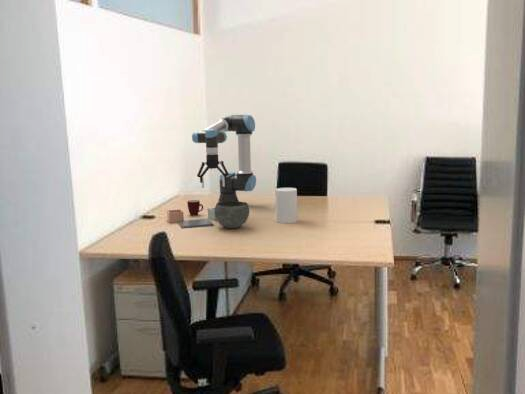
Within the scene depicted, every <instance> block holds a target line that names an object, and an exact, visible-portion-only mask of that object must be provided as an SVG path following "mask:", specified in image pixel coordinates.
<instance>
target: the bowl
mask: <svg viewBox="0 0 525 394" xmlns="http://www.w3.org/2000/svg"><path fill="white" fill-rule="evenodd" d="M249 207H250V206H249V204H248V203H247V202H245V201H222V202H218V201H217V203H216V204H215V207H214V208H215V217H216V219H217V221H216V222H217V223H219V225H221V226H222V227H224V228H226V229H236V228H239V227H241V226H243V225H244V224H245V223H246V221H248V219H249V215H250V208H249Z"/></svg>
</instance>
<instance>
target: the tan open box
mask: <svg viewBox="0 0 525 394" xmlns="http://www.w3.org/2000/svg"><path fill="white" fill-rule="evenodd" d="M184 216H185V215H184V211H183V210H182V209H181V208H180V209H178V208H177V209H167V210H166V217H167V219H166V220H167V221H168V223H170V224H171V223H172V224H173V223H177V221H185V220H184Z"/></svg>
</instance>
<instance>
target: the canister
mask: <svg viewBox="0 0 525 394" xmlns="http://www.w3.org/2000/svg"><path fill="white" fill-rule="evenodd" d="M297 190H298V189H297V188H296V187H278V188H275V189H274V194H275V195H274V197H275V198H274V199H275V222H277V223H279V224H280V223H281V224H292V223H296V222H298V191H297Z"/></svg>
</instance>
